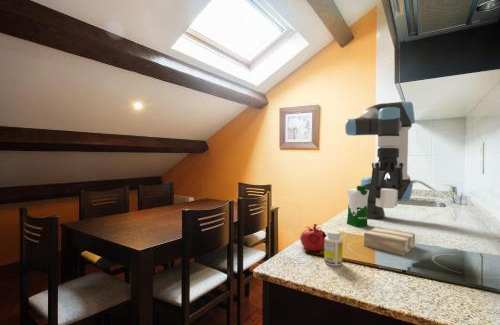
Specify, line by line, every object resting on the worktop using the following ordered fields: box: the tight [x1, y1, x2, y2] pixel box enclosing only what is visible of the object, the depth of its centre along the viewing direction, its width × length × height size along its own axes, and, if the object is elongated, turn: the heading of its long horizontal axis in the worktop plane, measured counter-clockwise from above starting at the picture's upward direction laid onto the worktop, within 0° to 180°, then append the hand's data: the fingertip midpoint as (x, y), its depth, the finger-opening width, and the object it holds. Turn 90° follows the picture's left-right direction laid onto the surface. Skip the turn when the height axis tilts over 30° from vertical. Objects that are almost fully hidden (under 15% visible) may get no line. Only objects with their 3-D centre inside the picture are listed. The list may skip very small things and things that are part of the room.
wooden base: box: [363, 226, 416, 256], centre depth 107 cm, size 14×14×5 cm
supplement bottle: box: [323, 229, 344, 267], centre depth 89 cm, size 6×6×10 cm
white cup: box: [381, 188, 397, 209], centre depth 108 cm, size 7×7×7 cm
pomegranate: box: [299, 223, 327, 252], centre depth 103 cm, size 10×10×9 cm
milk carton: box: [346, 185, 369, 228], centre depth 140 cm, size 9×9×20 cm
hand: (386, 206), depth 108 cm, fingers closed on white cup, 7 cm apart
